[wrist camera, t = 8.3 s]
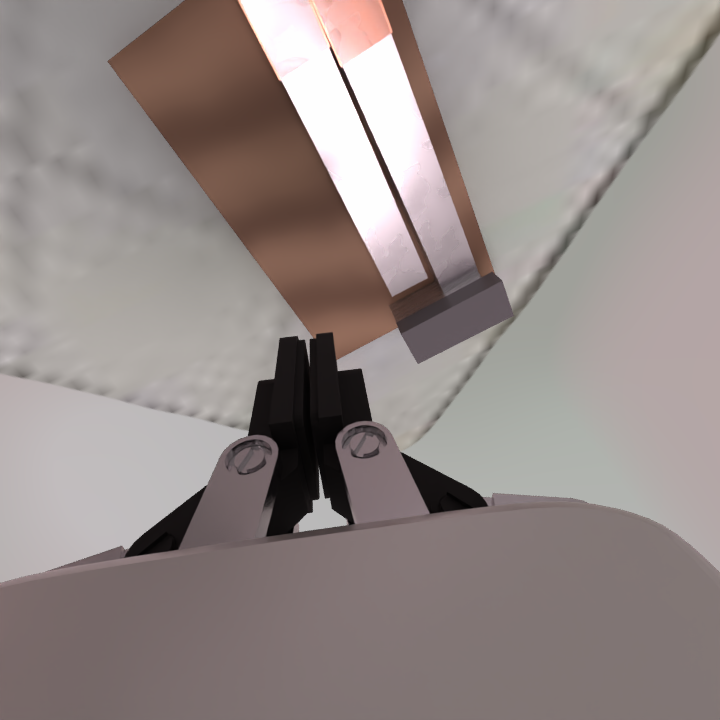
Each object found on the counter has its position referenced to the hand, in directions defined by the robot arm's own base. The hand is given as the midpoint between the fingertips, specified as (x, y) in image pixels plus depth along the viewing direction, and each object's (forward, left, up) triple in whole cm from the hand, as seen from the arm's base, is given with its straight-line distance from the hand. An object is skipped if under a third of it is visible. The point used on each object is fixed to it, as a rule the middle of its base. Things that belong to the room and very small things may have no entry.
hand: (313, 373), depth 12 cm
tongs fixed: (0, +6, -17) cm, 18 cm away
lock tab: (+10, +6, -14) cm, 18 cm away
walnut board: (-1, +3, -18) cm, 18 cm away
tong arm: (-3, +5, -17) cm, 17 cm away
